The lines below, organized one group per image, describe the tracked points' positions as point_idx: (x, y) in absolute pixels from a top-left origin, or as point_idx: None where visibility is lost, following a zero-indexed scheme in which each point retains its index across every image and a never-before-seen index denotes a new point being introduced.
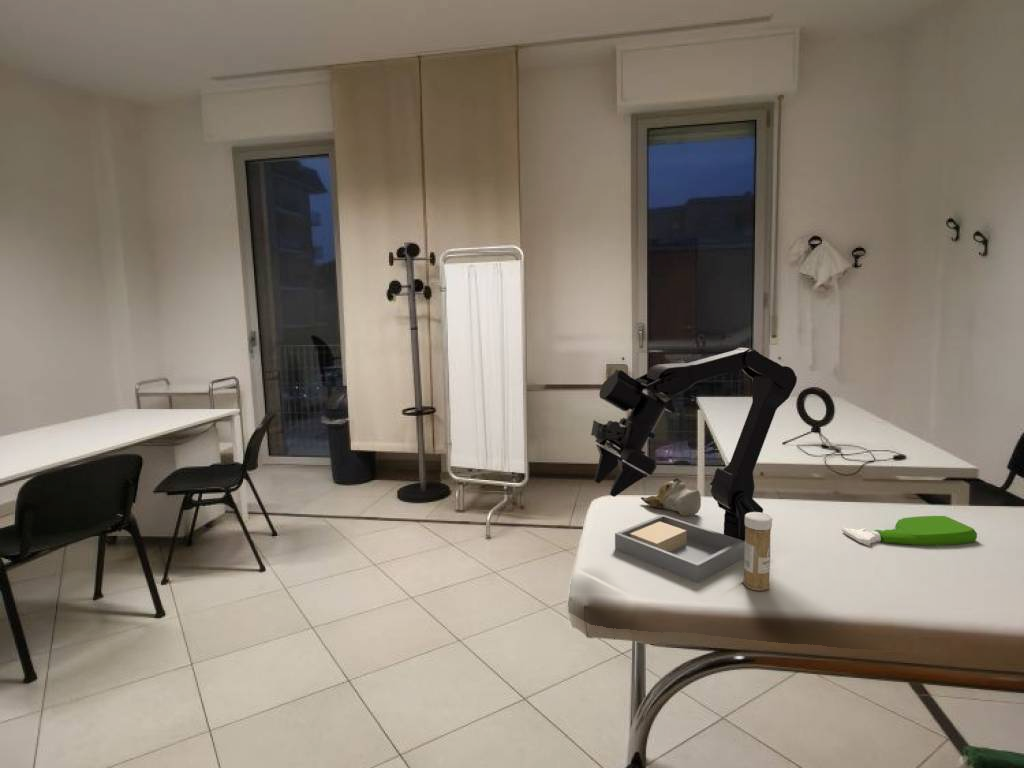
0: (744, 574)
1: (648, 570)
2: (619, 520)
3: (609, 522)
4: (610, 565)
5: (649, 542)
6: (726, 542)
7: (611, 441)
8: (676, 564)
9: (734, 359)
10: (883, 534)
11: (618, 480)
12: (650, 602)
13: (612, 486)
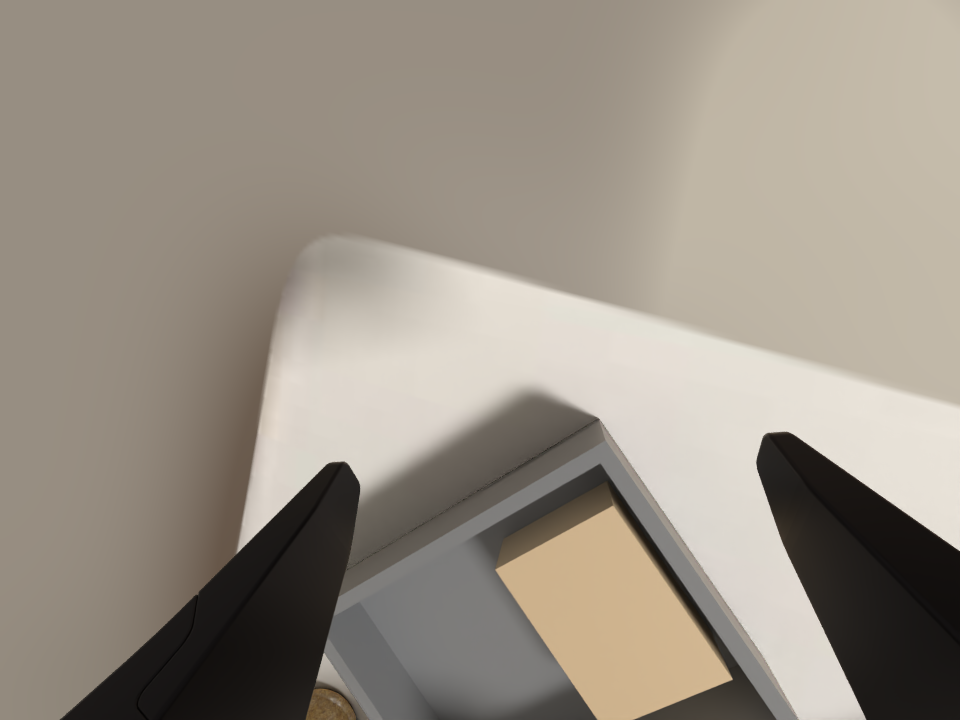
0: (321, 717)
1: (440, 482)
2: (954, 535)
3: (938, 482)
4: (489, 372)
5: (525, 549)
6: None
7: None
8: (371, 568)
9: None
10: None
11: (197, 600)
12: (265, 422)
13: (307, 513)
